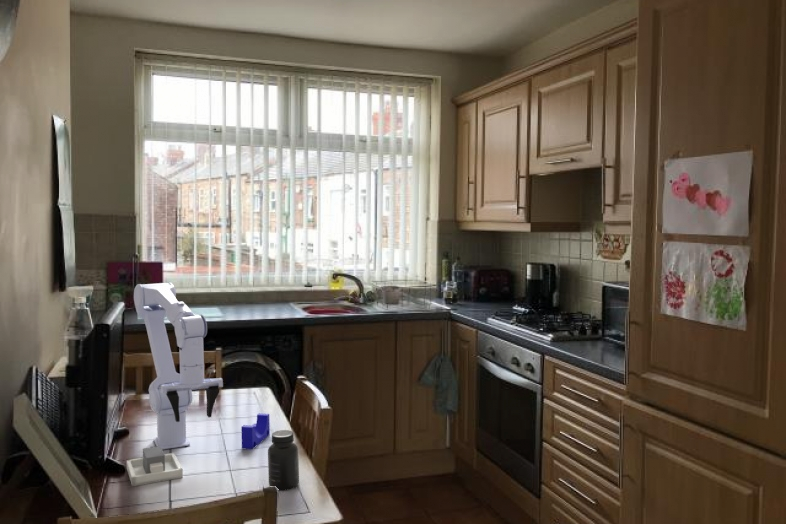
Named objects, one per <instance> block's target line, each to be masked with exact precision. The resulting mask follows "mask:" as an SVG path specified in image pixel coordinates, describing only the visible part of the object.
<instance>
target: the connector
mask: <svg viewBox="0 0 786 524" xmlns="http://www.w3.org/2000/svg"><path fill="white" fill-rule="evenodd" d="M164 454H165V453H164V451H163V450H162V449H161V447H160V446H158V447H157V446H153V447H145V448H142V458H143V467H144V470H145V473H146V474H149V473H157V472H163V471H165V455H164Z"/></svg>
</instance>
